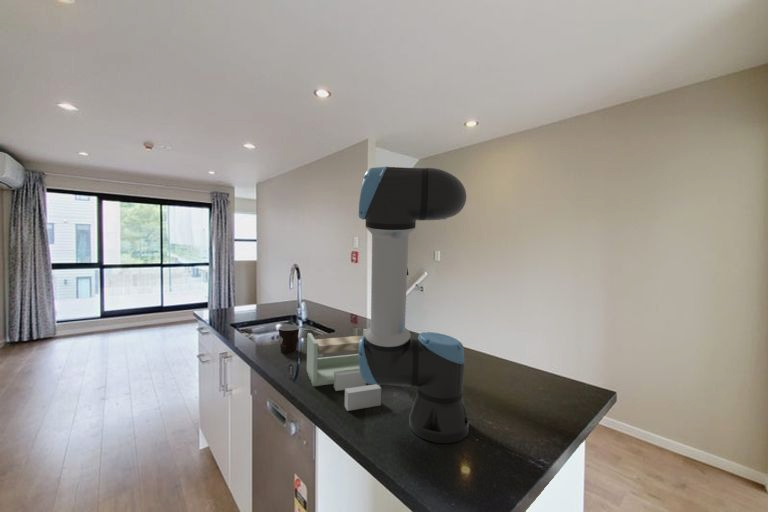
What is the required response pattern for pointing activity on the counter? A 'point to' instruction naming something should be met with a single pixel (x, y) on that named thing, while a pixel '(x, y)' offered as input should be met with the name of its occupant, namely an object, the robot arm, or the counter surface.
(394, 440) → the counter surface
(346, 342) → the stacked rolled towels
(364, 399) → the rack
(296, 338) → the coffee mug
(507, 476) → the counter surface
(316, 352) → the shelf unit
